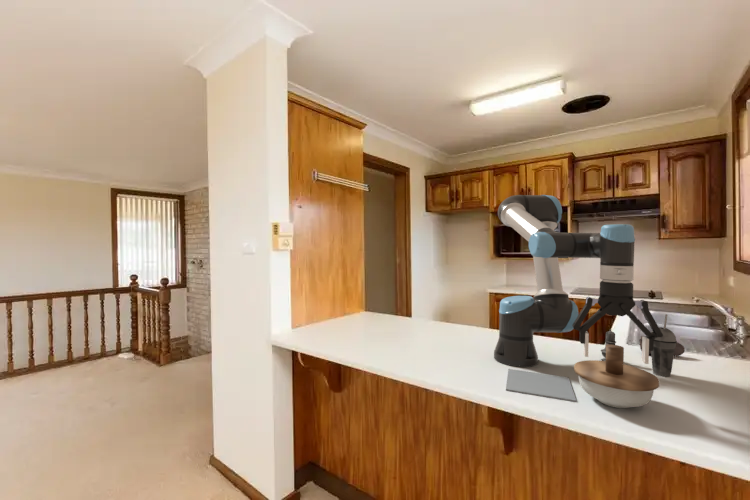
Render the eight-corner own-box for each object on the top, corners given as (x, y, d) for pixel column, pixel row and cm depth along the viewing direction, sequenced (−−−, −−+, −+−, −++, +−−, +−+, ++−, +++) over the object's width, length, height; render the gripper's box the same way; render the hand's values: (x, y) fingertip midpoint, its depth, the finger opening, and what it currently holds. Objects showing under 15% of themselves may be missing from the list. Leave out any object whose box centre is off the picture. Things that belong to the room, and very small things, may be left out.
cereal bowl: (583, 409, 91) (584, 382, 91) (573, 385, 106) (574, 362, 106) (664, 422, 84) (664, 393, 84) (641, 395, 100) (641, 370, 100)
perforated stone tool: (681, 355, 136) (682, 337, 136) (688, 359, 131) (688, 341, 131) (635, 351, 141) (635, 334, 141) (639, 354, 136) (640, 337, 136)
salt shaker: (622, 364, 125) (623, 331, 125) (604, 363, 126) (605, 330, 126) (615, 359, 131) (615, 327, 130) (597, 358, 132) (598, 326, 131)
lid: (579, 383, 90) (579, 351, 90) (570, 360, 108) (570, 334, 107) (671, 396, 83) (672, 362, 83) (645, 370, 100) (646, 341, 100)
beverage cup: (642, 370, 119) (643, 312, 119) (661, 370, 120) (663, 312, 119) (661, 378, 112) (662, 316, 111) (682, 378, 112) (683, 316, 112)
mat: (505, 390, 102) (505, 389, 102) (508, 369, 119) (508, 368, 119) (576, 401, 95) (576, 400, 95) (568, 378, 112) (568, 377, 112)
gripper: (565, 280, 96) (564, 356, 97) (679, 285, 86) (677, 370, 87) (563, 277, 103) (561, 349, 104) (668, 282, 93) (666, 360, 94)
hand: (614, 358), depth 95 cm, fingers open, 13 cm apart
